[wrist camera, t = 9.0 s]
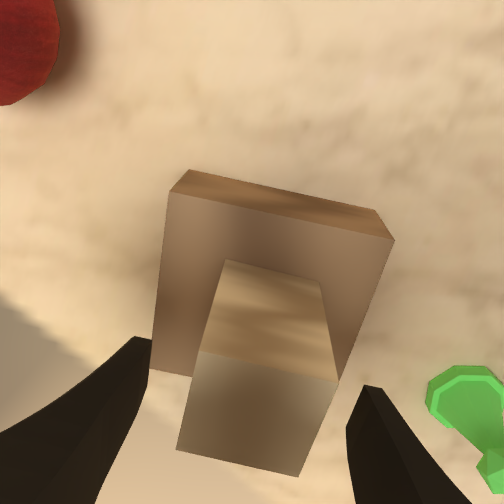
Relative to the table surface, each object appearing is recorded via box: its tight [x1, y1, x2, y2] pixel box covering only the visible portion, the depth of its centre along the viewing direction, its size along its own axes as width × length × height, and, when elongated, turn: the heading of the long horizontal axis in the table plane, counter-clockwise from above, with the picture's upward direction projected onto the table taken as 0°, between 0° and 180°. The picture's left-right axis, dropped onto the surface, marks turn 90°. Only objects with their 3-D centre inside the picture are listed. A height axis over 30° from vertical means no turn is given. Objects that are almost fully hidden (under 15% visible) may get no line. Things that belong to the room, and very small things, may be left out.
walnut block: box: [149, 170, 395, 381], centre depth 19 cm, size 9×9×4 cm
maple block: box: [176, 259, 339, 477], centre depth 14 cm, size 4×4×6 cm
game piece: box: [425, 366, 504, 494], centre depth 20 cm, size 4×4×6 cm
